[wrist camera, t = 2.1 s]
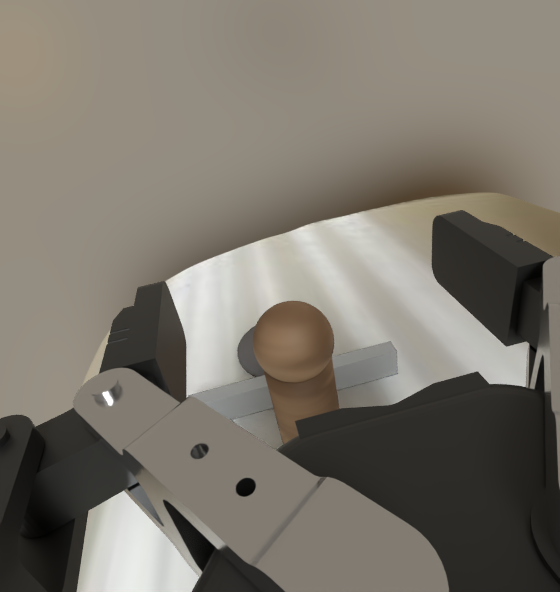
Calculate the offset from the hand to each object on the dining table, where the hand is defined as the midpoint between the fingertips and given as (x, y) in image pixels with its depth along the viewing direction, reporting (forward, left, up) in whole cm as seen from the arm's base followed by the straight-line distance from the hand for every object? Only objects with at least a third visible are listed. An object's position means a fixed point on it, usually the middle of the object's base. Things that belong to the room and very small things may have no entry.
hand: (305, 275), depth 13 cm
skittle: (-10, -5, -25) cm, 27 cm away
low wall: (-16, -9, -25) cm, 31 cm away
